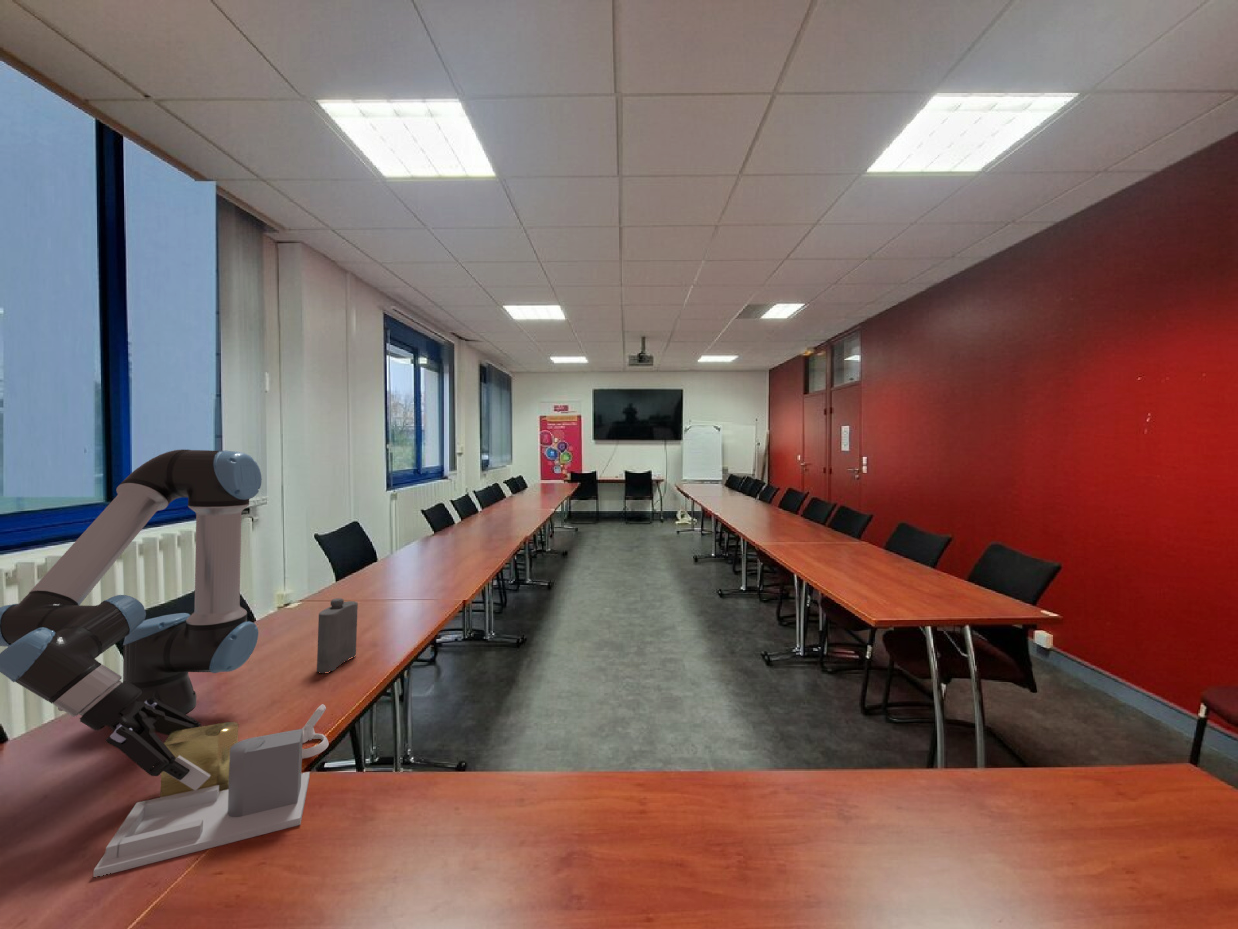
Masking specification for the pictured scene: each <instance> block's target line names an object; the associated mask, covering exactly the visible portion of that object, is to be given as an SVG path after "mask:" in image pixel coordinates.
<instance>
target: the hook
mask: <svg viewBox="0 0 1238 929" xmlns="http://www.w3.org/2000/svg"><path fill="white" fill-rule="evenodd" d="M326 710H327V707H326V705H325V704H324V703H322V704H320V705H319V706H318V707H317V708H316V710H315V711H314V712H313V713H312V714H311V716H310V718H309V719H308V720H307V722H306V723H305V725H303V727H302V728H301V729H303V741H302V744H304V743H306V742H308V740H309V741H313V740H312V739H321V742H320V743H318V744H316V745H313V746H311V747H307V748H302V760H304V759H309V758H311V757H314V756H317V755H319V754H321V753H322V752H324V751H326V749H327V748H328V747H329V745H330V744H329V739H328V738H327V736H326V735H325V734H323V733H316V732H315V728H314V727H315V726H316V724H317V723H318V721H319V720H320V719H321V717H322V716H323V714H324V713H325V712H326Z"/></svg>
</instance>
